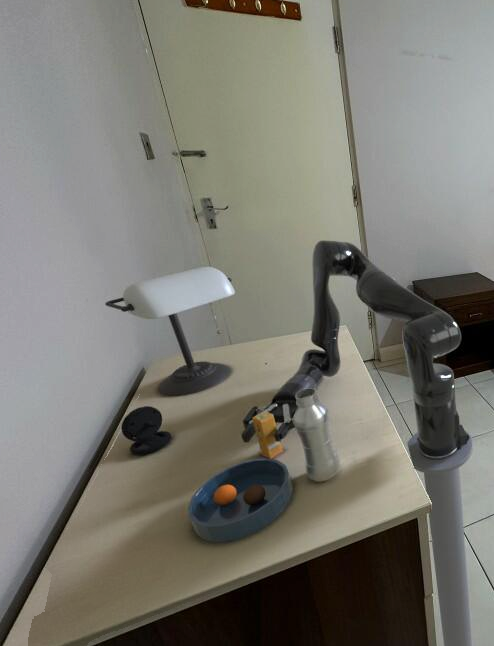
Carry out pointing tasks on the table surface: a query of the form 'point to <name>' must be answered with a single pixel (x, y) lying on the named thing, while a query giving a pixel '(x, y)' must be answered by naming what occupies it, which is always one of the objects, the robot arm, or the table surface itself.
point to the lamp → (168, 300)
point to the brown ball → (254, 495)
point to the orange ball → (225, 495)
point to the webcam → (145, 430)
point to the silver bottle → (315, 436)
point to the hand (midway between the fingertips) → (260, 438)
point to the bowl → (240, 501)
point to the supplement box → (267, 434)
